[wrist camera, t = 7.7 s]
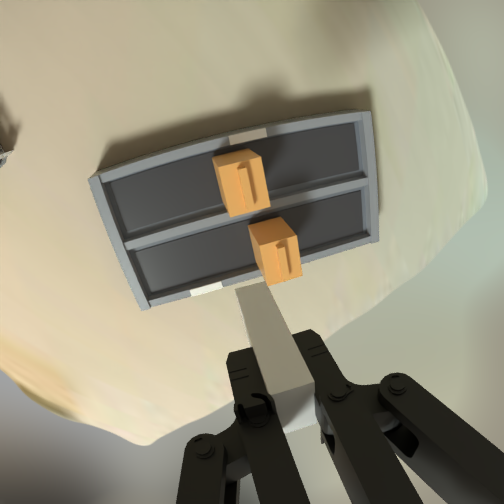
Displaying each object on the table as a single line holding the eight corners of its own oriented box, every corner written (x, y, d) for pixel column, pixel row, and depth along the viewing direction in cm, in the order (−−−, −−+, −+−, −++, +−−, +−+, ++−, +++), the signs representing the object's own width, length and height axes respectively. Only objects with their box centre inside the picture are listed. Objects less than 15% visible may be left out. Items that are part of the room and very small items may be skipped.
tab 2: (247, 225, 30) (261, 249, 26) (280, 216, 30) (299, 238, 26) (255, 262, 32) (269, 289, 27) (286, 253, 32) (304, 279, 28)
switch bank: (95, 171, 27) (87, 179, 24) (355, 109, 29) (370, 111, 27) (143, 294, 33) (141, 310, 31) (365, 230, 36) (379, 241, 33)
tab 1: (211, 157, 27) (219, 169, 22) (248, 148, 27) (263, 158, 22) (222, 200, 28) (231, 220, 24) (257, 191, 29) (272, 209, 24)
